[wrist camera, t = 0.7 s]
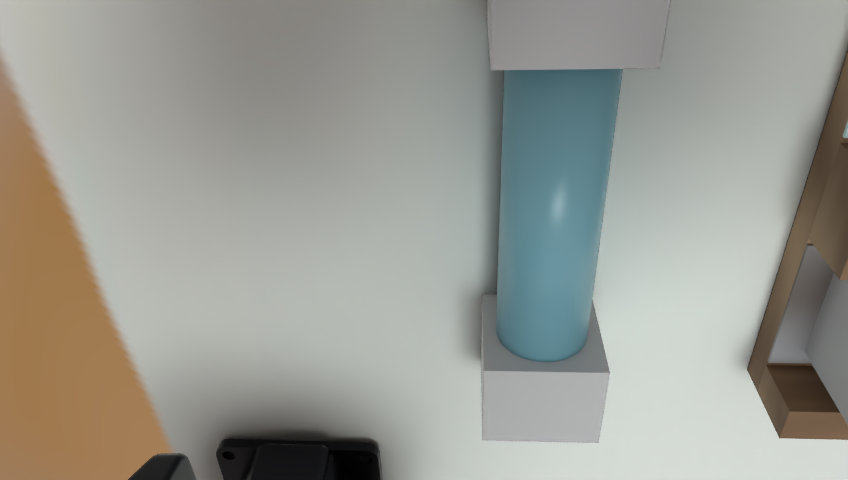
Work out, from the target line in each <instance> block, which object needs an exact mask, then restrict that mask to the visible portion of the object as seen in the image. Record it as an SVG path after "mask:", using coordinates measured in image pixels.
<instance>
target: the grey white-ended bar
mask: <svg viewBox="0 0 848 480" xmlns="http://www.w3.org/2000/svg"><path fill="white" fill-rule="evenodd" d="M805 353H806V355H807V357H808V359H809V360H810V362H811V364H812V365H813V367H814V369H815V370H816V372H817V374H818V376H819V377H820V379H821V381H822V382H823V384H824V386H825V387H826V389H827V391H828V393H829V394H830V396H831V398H832V399H833V401H834V403H835V405H836V406H837V408H838V410H839V411H840V413H841V415H842V416H843V418H844V420H845V422H846V423H847V425H848V280H839V279H838V277H837V276H836V275H835V273H834V274H833V277H832V279H831V282H830V285H829V287H828V290H827V293H826V296H825V298H824V301H823V304H822V306H821V309H820V312H819V314H818V317H817V320H816V322H815V325H814V328H813V331H812V333H811V336H810V339H809V341H808V344H807V347H806V349H805Z"/></svg>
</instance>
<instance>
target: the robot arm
mask: <svg viewBox="0 0 848 480" xmlns="http://www.w3.org/2000/svg"><path fill="white" fill-rule="evenodd" d="M216 455H217V459H218V462H219V465H220V469H221V472H222V475H223V478H224V480H383V479H382V470H381V460H380V451H379V448H378V447H377V446H376V445H374V444H372V443H366V442H327V441H285V440H244V439H226V440H223V441H221V443H220V444H219V447H218V449H217V452H216ZM128 480H196V477H195V475H194V472H193V469H192V467H191V464H190V461H189V459H188V457H187V456H185V455H184V454H181V453H175V454H157V455H155V456H153V457H152V458H150V459H149V460H148V461H147V462H146V463H145V464H144V465H143V466H142V467H141V468H140V469H139V470H138V471H137V472H135V473H134V474H133V475H132V476H131V477H130V478H129V479H128Z"/></svg>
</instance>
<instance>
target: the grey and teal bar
mask: <svg viewBox="0 0 848 480" xmlns="http://www.w3.org/2000/svg"><path fill="white" fill-rule="evenodd" d="M669 7H670V0H488V7H487V27H488V41H489V55H490V69H491V70H505V74H504V104H503V134H502V163H501V193H500V222H499V252H498V281H497V295H488V294H482V330H481V392H482V440H496V441H539V442H582V443H599V437H600V430H601V424H602V418H603V412H604V406H605V400H606V394H607V387H608V381H609V375H610V372H609V367H608V363H607V359H606V355H605V350H604V346H603V342H602V338H601V333H600V329H599V325H598V321H597V317H596V312H595V308H594V304H593V300H592V297H593V289H594V282H595V274H596V267H597V259H598V252H599V244H600V236H601V229H602V221H603V214H604V206H605V199H606V191H607V184H608V176H609V168H610V161H611V153H612V146H613V138H614V131H615V123H616V115H617V108H618V100H619V93H620V85H621V78H622V70H623V69H644V68H660V62H661V56H662V50H663V43H664V37H665V31H666V25H667V19H668V13H669Z"/></svg>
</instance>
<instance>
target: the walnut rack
mask: <svg viewBox="0 0 848 480" xmlns="http://www.w3.org/2000/svg"><path fill="white" fill-rule="evenodd" d="M834 273H835V275H836V276H837V277H838V279H839V280H848V52H847V56H846V59H845V62H844V65H843V68H842V71H841V75H840V78H839V81H838V84H837V87H836V90H835V94H834V97H833V100H832V103H831V106H830V109H829V113H828V116H827V119H826V122H825V125H824V129H823V132H822V135H821V138H820V141H819V144H818V148H817V151H816V154H815V157H814V160H813V163H812V167H811V170H810V173H809V176H808V179H807V182H806V186H805V189H804V192H803V195H802V198H801V201H800V205H799V208H798V211H797V214H796V217H795V221H794V224H793V227H792V230H791V233H790V236H789V240H788V243H787V246H786V249H785V252H784V255H783V259H782V262H781V265H780V268H779V271H778V274H777V278H776V281H775V284H774V287H773V290H772V293H771V297H770V300H769V303H768V306H767V309H766V312H765V316H764V319H763V322H762V325H761V328H760V332H759V335H758V338H757V341H756V344H755V347H754V351H753V354H752V357H751V360H750V363H749V366H748V372H749V374H750V377H751V379H752V381H753V383H754V385H755V387H756V389H757V391H758V394H759V396H760V398H761V400H762V402H763V404H764V406H765V408H766V411H767V413H768V415H769V417H770V419H771V421H772V423H773V425H774V428H775V430H776V432H777V434H778V436H779V438H797V439H841V440H848V425H847V423H846V422H845V420H844V418H843V416H842V415H841V413H840V411H839V410H838V408H837V406H836V405H835V403H834V401H833V399H832V398H831V396H830V394H829V393H828V391H827V389H826V387H825V386H824V384H823V382H822V381H821V379H820V377H819V376H818V374H817V372H816V370H815V369H814V367H813V365H812V364H811V362H810V360H809V359H808V357H807V355H806V353H805V349H806V347H807V344H808V341H809V339H810V336H811V333H812V331H813V328H814V325H815V322H816V320H817V317H818V314H819V312H820V309H821V306H822V304H823V301H824V298H825V296H826V293H827V290H828V287H829V285H830V282H831V279H832V277H833V274H834Z"/></svg>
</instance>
